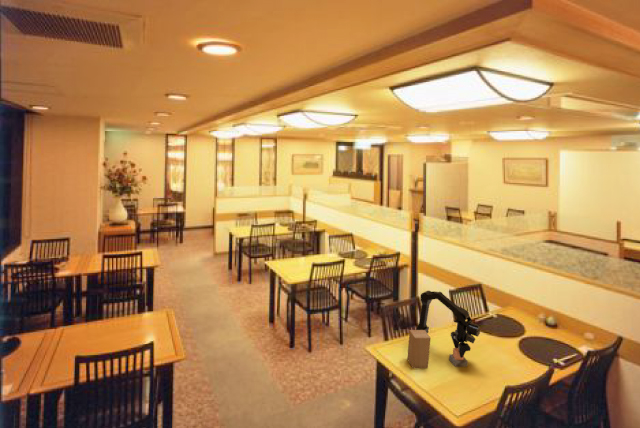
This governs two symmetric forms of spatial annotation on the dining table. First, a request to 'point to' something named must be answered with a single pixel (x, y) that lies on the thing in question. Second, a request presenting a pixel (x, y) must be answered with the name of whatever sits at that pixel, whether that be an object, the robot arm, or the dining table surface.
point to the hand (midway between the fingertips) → (458, 353)
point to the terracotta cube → (457, 354)
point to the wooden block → (418, 348)
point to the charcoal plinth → (458, 361)
